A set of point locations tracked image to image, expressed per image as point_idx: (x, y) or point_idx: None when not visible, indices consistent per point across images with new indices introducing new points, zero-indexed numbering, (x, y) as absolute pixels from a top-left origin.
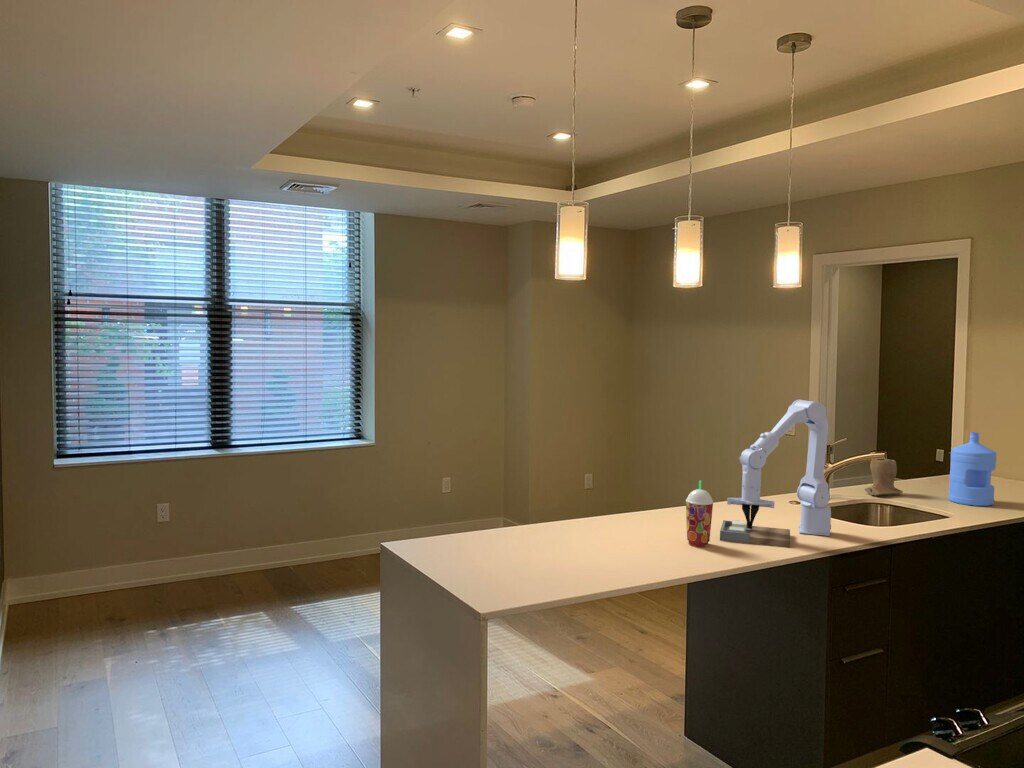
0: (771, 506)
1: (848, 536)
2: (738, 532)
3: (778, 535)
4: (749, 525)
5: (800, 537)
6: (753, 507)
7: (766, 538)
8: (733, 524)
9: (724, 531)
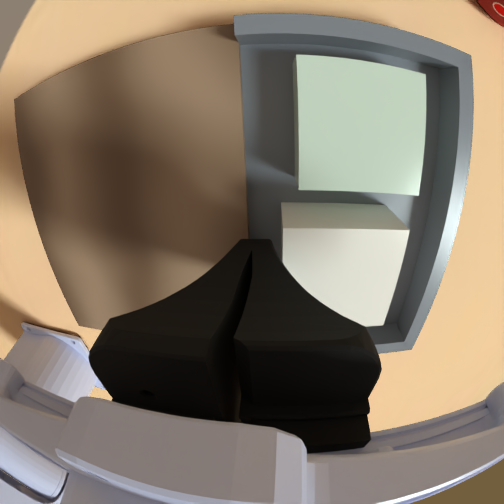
0: (3, 376)
1: (9, 329)
2: (341, 23)
3: (67, 182)
4: (255, 245)
5: (56, 290)
6: (175, 399)
7: (114, 51)
8: (394, 227)
9: (445, 46)
